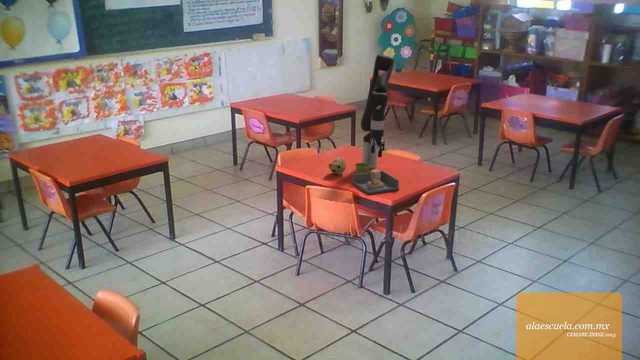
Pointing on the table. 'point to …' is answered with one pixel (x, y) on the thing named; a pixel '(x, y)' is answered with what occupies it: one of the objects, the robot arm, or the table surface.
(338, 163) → the toy pig
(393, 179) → the walled box
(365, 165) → the plant pot
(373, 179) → the connector
